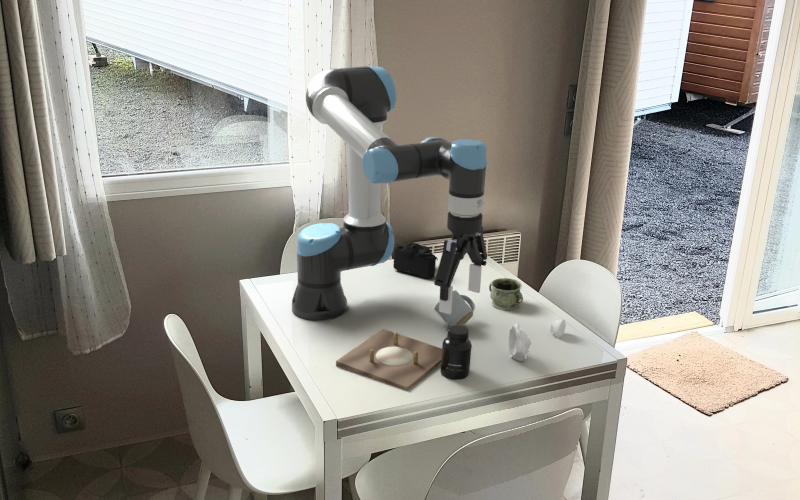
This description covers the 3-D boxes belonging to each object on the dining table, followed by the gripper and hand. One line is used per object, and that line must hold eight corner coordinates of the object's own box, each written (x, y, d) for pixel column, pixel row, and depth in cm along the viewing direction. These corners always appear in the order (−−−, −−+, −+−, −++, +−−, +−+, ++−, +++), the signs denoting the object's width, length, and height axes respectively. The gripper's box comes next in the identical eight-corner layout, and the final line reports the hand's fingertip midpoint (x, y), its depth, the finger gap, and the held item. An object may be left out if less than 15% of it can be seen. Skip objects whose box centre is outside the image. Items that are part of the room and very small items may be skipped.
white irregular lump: (558, 341, 200) (560, 324, 198) (547, 338, 201) (549, 321, 199) (565, 334, 204) (567, 317, 202) (554, 331, 205) (556, 314, 203)
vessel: (531, 307, 218) (533, 286, 216) (511, 316, 213) (513, 295, 210) (498, 293, 226) (499, 273, 224) (478, 301, 221) (479, 281, 218)
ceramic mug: (452, 335, 204) (458, 324, 198) (431, 313, 207) (436, 300, 200) (480, 313, 209) (487, 300, 202) (459, 291, 211) (465, 278, 204)
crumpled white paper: (533, 371, 186) (537, 335, 182) (515, 371, 185) (519, 335, 182) (524, 350, 195) (527, 315, 191) (506, 350, 195) (510, 315, 191)
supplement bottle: (449, 385, 179) (452, 339, 174) (435, 371, 184) (437, 326, 180) (475, 378, 182) (478, 333, 177) (459, 365, 187) (462, 320, 183)
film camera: (446, 270, 241) (448, 242, 238) (430, 280, 233) (431, 252, 230) (405, 258, 248) (406, 232, 245) (388, 268, 241) (389, 241, 238)
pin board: (336, 366, 185) (336, 349, 183) (382, 334, 201) (383, 318, 199) (407, 393, 175) (407, 375, 174) (450, 356, 191) (451, 340, 189)
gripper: (452, 232, 156) (447, 326, 164) (506, 201, 176) (499, 286, 184) (420, 224, 160) (416, 317, 168) (476, 195, 179) (471, 279, 187)
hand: (460, 301), depth 176 cm, fingers open, 13 cm apart
